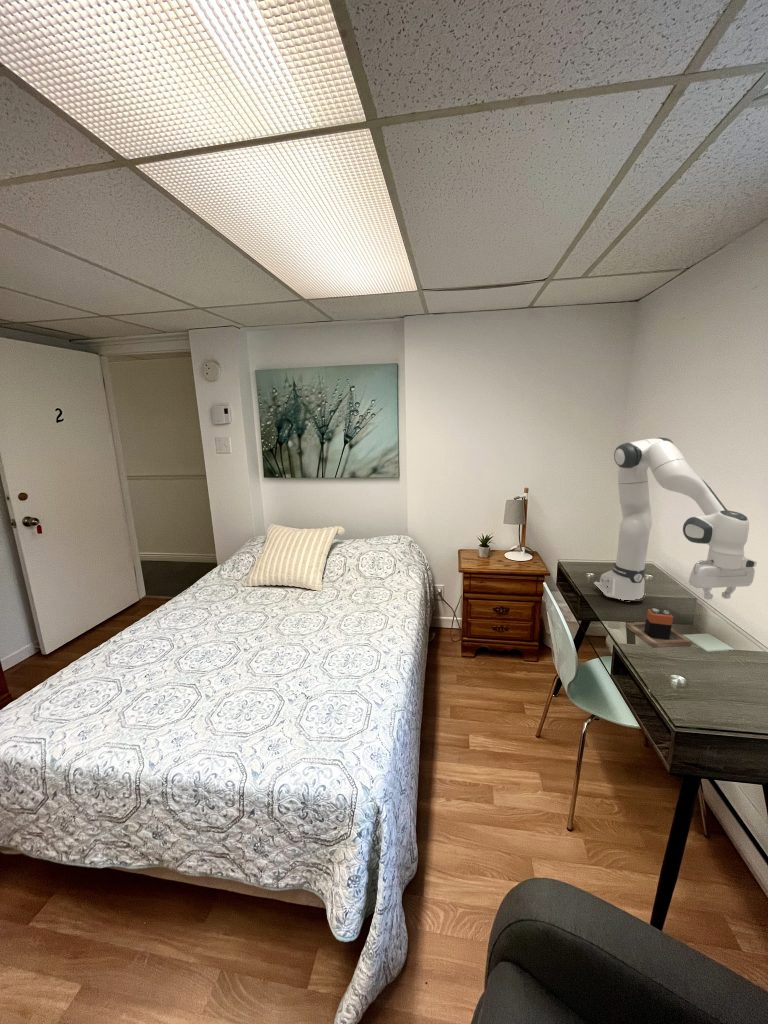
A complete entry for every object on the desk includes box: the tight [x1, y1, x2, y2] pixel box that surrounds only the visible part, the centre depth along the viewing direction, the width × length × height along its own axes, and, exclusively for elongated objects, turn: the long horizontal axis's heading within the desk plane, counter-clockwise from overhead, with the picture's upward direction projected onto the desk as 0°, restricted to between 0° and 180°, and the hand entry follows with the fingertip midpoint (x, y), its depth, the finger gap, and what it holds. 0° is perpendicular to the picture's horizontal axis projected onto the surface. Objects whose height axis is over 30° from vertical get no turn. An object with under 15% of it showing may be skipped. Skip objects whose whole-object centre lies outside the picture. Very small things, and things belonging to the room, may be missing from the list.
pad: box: [682, 633, 735, 653], centre depth 137 cm, size 10×10×1 cm
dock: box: [625, 621, 693, 648], centre depth 142 cm, size 14×14×2 cm
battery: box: [643, 608, 674, 640], centre depth 141 cm, size 4×7×10 cm, turn 76°
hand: (716, 598), depth 134 cm, fingers open, 5 cm apart
